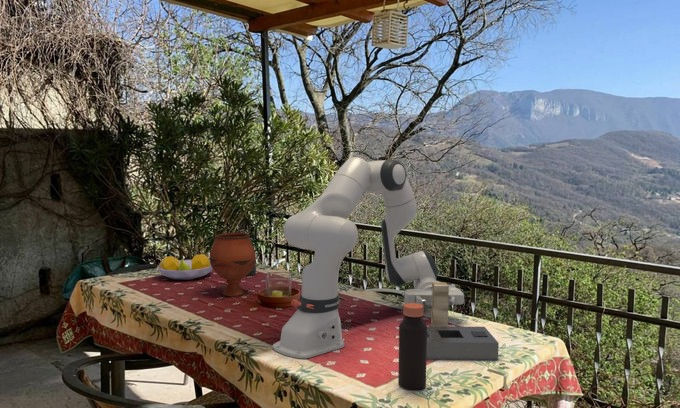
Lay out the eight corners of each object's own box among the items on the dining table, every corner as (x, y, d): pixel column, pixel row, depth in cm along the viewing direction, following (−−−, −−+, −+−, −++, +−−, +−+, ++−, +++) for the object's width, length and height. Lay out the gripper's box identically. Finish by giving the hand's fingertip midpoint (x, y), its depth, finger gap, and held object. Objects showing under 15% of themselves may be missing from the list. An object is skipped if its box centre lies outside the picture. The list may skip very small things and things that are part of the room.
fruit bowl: (172, 270, 256) (172, 248, 255) (223, 272, 252) (223, 250, 251) (143, 283, 228) (143, 258, 227) (200, 285, 224) (200, 260, 223)
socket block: (405, 341, 154) (406, 325, 154) (483, 342, 154) (484, 326, 154) (412, 359, 140) (412, 341, 140) (498, 360, 140) (498, 342, 140)
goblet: (243, 285, 224) (242, 230, 222) (264, 294, 209) (264, 235, 207) (202, 292, 212) (201, 233, 210) (222, 302, 197) (221, 239, 195)
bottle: (416, 393, 119) (417, 311, 118) (392, 385, 124) (394, 305, 122) (431, 384, 124) (432, 305, 123) (408, 376, 129) (409, 300, 127)
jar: (236, 272, 250) (236, 257, 250) (256, 272, 251) (256, 257, 251) (234, 277, 240) (234, 261, 240) (255, 277, 242) (255, 261, 241)
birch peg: (431, 330, 165) (432, 282, 164) (444, 330, 165) (445, 282, 164) (433, 334, 161) (434, 285, 160) (447, 334, 161) (448, 285, 160)
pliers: (330, 288, 219) (360, 297, 204) (330, 289, 219) (360, 299, 204) (312, 291, 213) (341, 301, 198) (312, 293, 213) (341, 303, 198)
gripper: (401, 283, 179) (406, 293, 165) (458, 284, 179) (468, 294, 165) (401, 300, 180) (405, 312, 166) (458, 301, 180) (467, 312, 166)
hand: (437, 303), depth 166 cm, fingers open, 8 cm apart
